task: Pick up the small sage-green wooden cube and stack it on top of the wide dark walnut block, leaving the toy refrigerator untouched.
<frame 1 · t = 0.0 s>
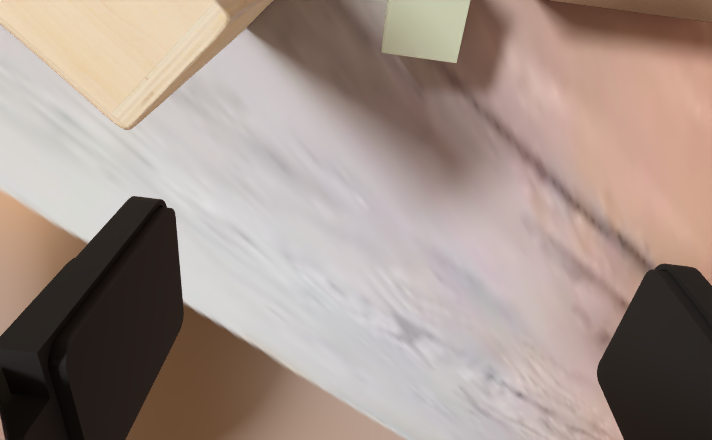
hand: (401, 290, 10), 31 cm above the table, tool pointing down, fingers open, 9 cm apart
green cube: (422, 5, 36), on the table
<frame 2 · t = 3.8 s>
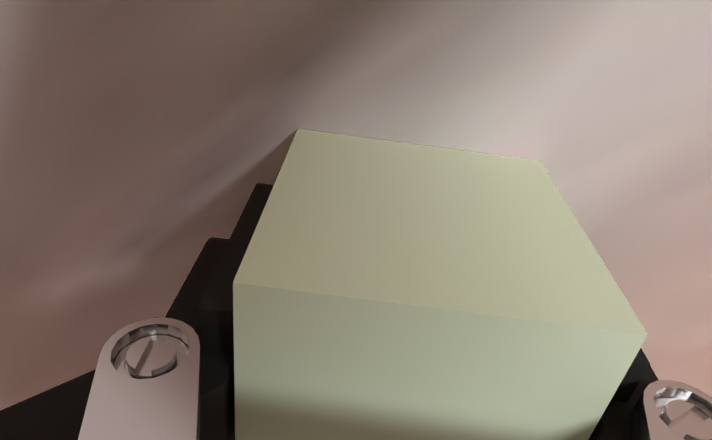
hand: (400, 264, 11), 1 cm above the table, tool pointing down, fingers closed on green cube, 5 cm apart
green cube: (400, 245, 12), on the table, touching gripper
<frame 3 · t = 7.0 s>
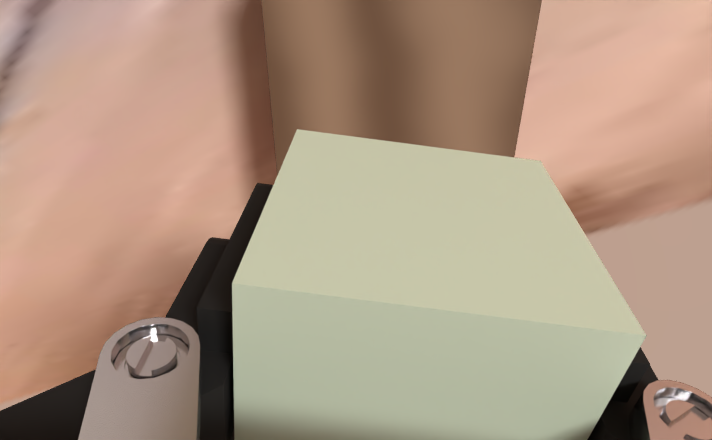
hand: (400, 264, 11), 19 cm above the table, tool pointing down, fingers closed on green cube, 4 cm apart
walnut block: (394, 61, 28), on the table
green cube: (399, 245, 12), point 19 cm above the table, touching gripper
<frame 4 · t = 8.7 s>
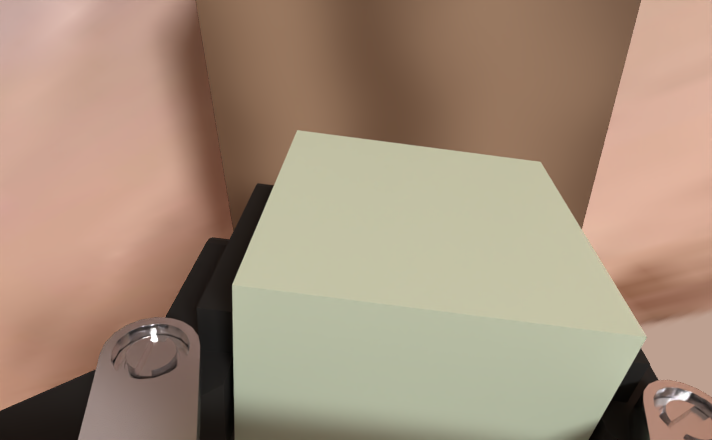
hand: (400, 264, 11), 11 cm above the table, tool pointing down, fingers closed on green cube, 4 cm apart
walnut block: (403, 99, 20), on the table
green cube: (399, 246, 12), point 10 cm above the table, touching gripper
when the fingers open (7 cm above the table, at t = 10.2 s): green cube drops 2 cm, resting on walnut block.
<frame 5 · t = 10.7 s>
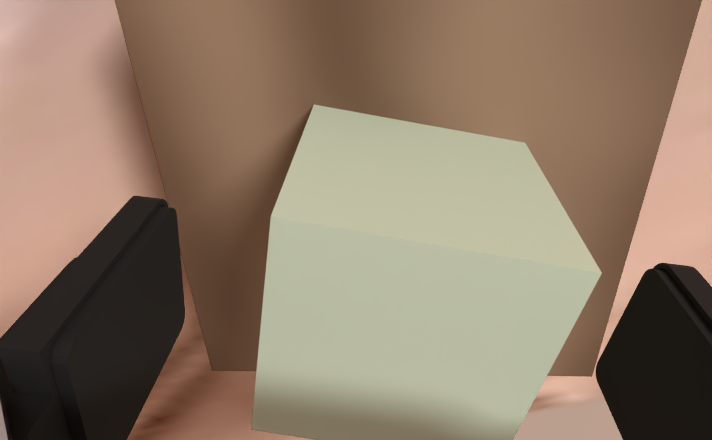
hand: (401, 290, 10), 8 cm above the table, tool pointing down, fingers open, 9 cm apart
walnut block: (395, 135, 17), on the table, touching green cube
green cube: (397, 214, 13), point 5 cm above the table, touching walnut block
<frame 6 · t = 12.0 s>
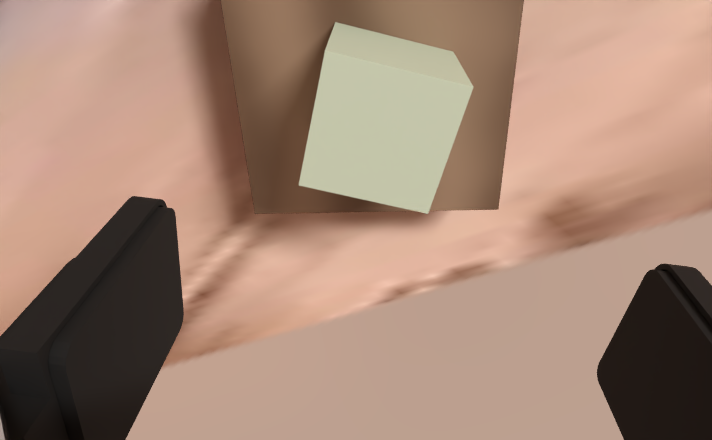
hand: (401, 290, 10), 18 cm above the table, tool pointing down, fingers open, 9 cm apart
walnut block: (372, 63, 26), on the table, touching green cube
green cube: (379, 95, 22), point 5 cm above the table, touching walnut block
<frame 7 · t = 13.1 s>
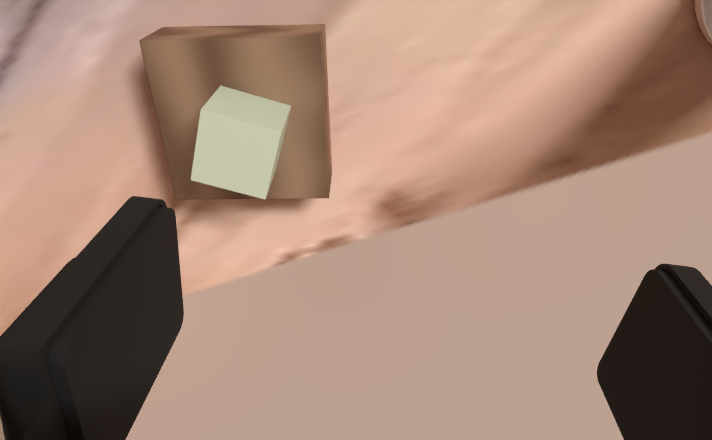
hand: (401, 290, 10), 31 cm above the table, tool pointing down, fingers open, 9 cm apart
walnut block: (254, 103, 41), on the table
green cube: (249, 128, 37), point 5 cm above the table
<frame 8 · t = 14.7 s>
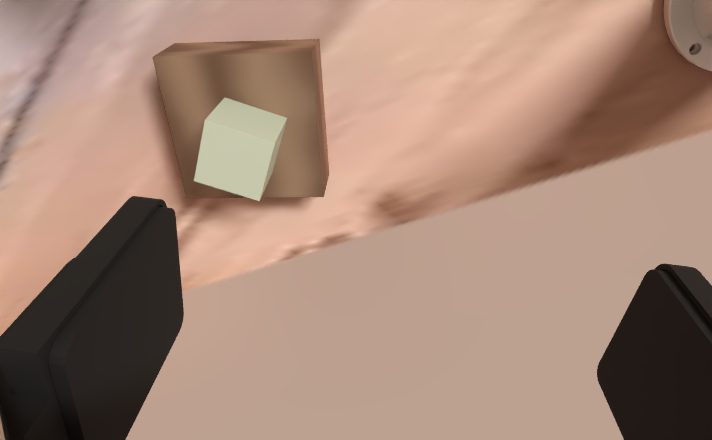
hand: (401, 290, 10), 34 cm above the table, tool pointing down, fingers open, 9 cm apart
walnut block: (257, 110, 45), on the table, touching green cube
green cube: (249, 136, 41), point 5 cm above the table, touching walnut block
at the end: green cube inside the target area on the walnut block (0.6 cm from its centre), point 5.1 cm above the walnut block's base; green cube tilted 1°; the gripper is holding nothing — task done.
